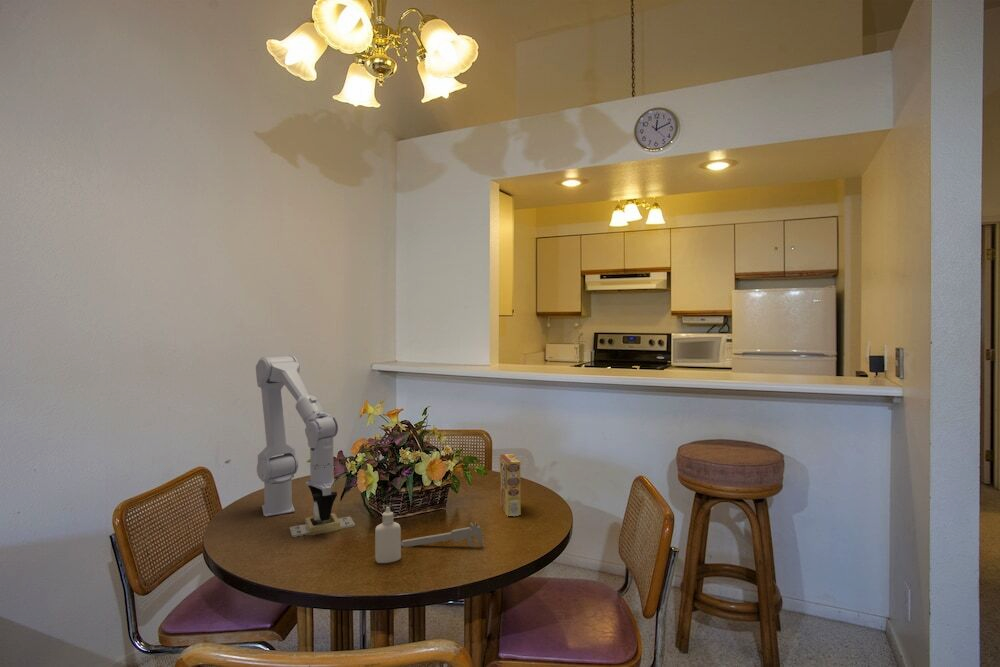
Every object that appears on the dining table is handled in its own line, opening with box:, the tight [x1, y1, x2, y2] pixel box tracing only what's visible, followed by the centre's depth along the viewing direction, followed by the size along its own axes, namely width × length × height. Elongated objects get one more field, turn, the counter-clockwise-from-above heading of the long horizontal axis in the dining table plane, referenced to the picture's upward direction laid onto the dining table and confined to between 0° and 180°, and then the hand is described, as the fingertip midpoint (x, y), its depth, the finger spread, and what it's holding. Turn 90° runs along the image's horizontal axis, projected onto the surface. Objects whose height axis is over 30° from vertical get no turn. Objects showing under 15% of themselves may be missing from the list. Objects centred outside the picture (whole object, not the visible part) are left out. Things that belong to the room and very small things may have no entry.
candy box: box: [499, 453, 522, 518], centre depth 148 cm, size 9×4×15 cm, turn 13°
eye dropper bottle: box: [374, 506, 402, 564], centre depth 118 cm, size 4×6×12 cm
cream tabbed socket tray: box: [289, 512, 356, 538], centre depth 136 cm, size 8×16×2 cm, turn 118°
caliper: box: [401, 521, 483, 548], centre depth 125 cm, size 20×1×6 cm, turn 88°
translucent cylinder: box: [312, 500, 331, 526], centre depth 136 cm, size 4×4×7 cm
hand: (322, 514), depth 136 cm, fingers open, 7 cm apart
